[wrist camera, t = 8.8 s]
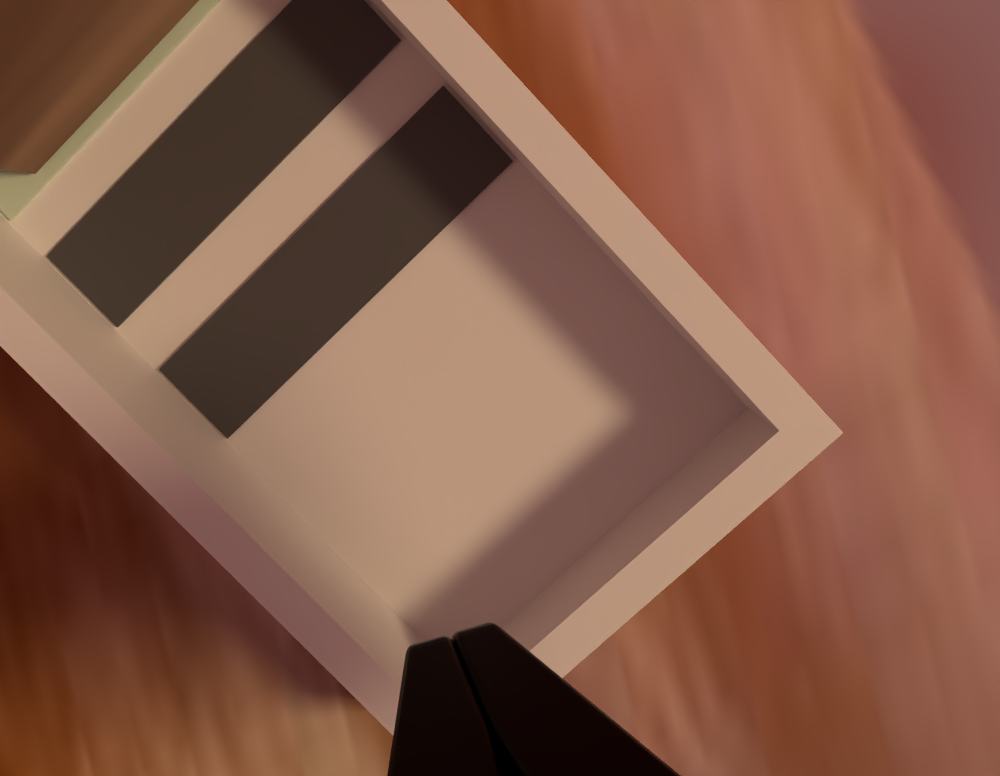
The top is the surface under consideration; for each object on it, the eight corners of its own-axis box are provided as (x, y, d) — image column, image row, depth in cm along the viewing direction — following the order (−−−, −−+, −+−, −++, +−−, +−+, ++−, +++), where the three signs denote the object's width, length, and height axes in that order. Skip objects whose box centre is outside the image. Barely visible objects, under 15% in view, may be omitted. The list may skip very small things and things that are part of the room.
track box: (790, 401, 20) (842, 432, 17) (456, 697, 22) (441, 783, 18) (83, -368, 19) (-19, -507, 15) (-237, 2, 20) (-399, -49, 17)
